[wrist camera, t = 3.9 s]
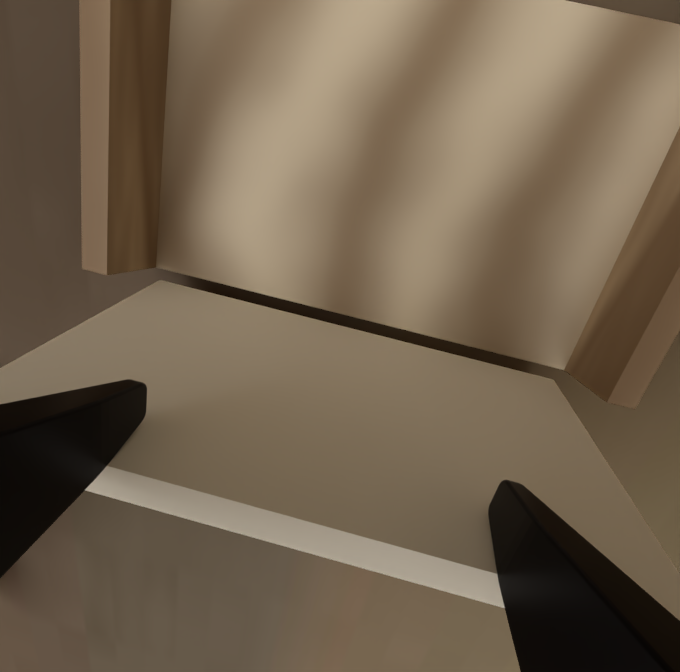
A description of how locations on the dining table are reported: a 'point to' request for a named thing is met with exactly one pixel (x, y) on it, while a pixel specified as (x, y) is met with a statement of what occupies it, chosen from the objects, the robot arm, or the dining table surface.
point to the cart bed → (399, 166)
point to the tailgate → (338, 439)
